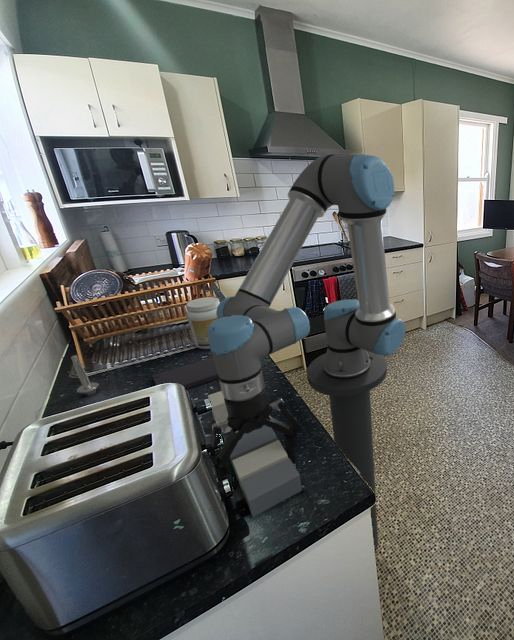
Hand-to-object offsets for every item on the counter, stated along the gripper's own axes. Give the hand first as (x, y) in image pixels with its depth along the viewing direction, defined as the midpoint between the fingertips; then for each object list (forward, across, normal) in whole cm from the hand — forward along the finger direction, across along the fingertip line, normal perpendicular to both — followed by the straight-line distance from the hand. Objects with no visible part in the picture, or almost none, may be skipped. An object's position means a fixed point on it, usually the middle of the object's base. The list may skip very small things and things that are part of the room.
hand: (262, 471), depth 78 cm
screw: (+1, -31, +62) cm, 69 cm away
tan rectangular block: (0, 0, 0) cm, 0 cm away
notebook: (+1, -5, +54) cm, 54 cm away
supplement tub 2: (+1, +4, +76) cm, 76 cm away
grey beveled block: (0, 0, -7) cm, 7 cm away
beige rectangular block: (0, 0, +22) cm, 22 cm away
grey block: (0, 0, +7) cm, 7 cm away
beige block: (-4, 0, +22) cm, 22 cm away
